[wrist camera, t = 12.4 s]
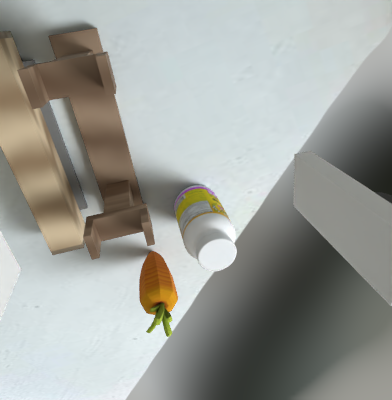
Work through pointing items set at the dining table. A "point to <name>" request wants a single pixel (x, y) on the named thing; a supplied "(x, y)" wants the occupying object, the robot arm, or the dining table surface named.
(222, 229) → the supplement bottle
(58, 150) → the mat
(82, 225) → the rail
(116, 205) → the rack
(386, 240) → the robot arm
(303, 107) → the dining table surface
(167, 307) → the carrot
